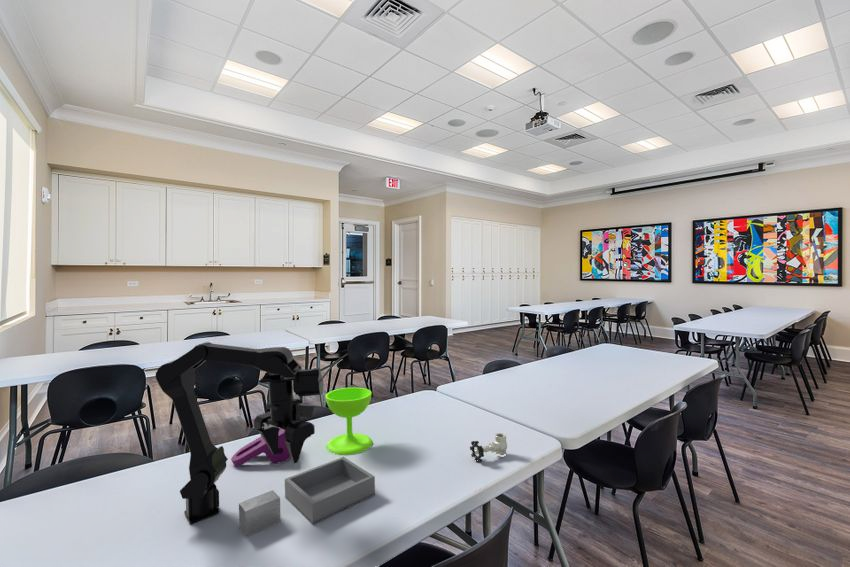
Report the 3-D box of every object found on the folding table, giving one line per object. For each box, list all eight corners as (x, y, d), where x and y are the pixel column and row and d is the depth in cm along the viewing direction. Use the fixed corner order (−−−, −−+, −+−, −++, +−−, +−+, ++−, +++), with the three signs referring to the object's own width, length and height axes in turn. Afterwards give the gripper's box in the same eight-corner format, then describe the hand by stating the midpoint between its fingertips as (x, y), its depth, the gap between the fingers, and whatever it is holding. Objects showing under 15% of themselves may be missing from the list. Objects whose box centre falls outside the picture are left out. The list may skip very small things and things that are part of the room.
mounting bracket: (242, 487, 119) (296, 454, 124) (228, 465, 118) (284, 432, 123) (246, 473, 128) (296, 442, 133) (233, 452, 126) (285, 422, 131)
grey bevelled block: (245, 537, 87) (245, 511, 87) (239, 528, 90) (238, 503, 90) (280, 522, 92) (280, 497, 92) (273, 513, 96) (272, 490, 95)
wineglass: (352, 459, 124) (351, 403, 123) (316, 449, 131) (315, 397, 131) (381, 440, 138) (380, 390, 137) (347, 432, 145) (346, 385, 145)
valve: (499, 450, 129) (469, 457, 123) (499, 430, 129) (469, 437, 123) (512, 458, 123) (481, 466, 117) (512, 437, 123) (481, 445, 117)
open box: (312, 524, 91) (312, 504, 91) (285, 497, 102) (284, 479, 102) (374, 494, 103) (374, 476, 103) (343, 473, 115) (343, 456, 115)
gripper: (330, 394, 98) (334, 454, 98) (288, 385, 109) (292, 439, 110) (292, 407, 89) (296, 473, 89) (250, 396, 101) (254, 454, 101)
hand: (285, 458), depth 98 cm, fingers open, 9 cm apart
